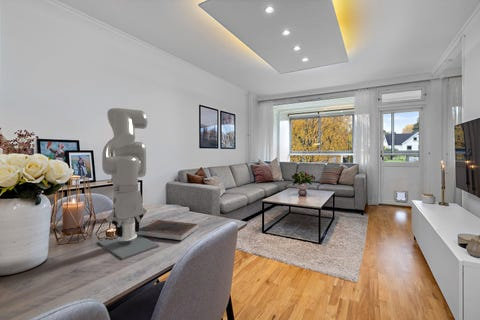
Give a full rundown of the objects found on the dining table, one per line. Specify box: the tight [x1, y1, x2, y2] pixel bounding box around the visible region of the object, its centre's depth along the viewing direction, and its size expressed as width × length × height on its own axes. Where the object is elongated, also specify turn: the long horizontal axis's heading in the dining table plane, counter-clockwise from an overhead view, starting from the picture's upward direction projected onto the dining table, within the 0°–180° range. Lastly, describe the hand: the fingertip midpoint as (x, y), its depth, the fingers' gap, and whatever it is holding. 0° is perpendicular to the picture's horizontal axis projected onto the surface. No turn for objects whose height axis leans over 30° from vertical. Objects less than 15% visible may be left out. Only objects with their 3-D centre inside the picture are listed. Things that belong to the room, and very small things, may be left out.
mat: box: [97, 232, 160, 261], centre depth 88 cm, size 22×14×1 cm, turn 52°
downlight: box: [117, 217, 137, 241], centre depth 88 cm, size 8×7×10 cm
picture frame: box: [135, 219, 199, 241], centre depth 102 cm, size 16×2×22 cm
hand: (127, 233), depth 88 cm, fingers closed on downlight, 5 cm apart
